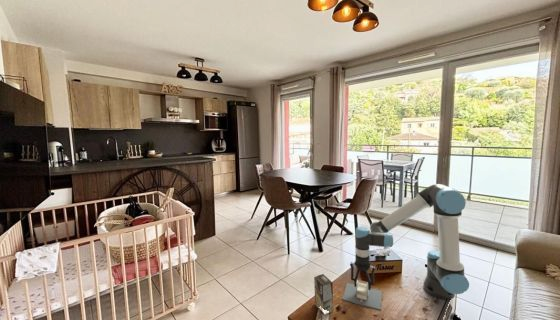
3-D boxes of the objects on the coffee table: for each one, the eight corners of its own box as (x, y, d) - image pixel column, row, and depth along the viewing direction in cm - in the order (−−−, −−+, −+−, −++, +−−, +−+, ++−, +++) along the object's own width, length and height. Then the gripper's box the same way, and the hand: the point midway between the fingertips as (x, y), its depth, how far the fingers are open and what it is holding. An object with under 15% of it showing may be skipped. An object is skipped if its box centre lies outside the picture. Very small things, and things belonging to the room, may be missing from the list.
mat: (381, 292, 135) (381, 291, 135) (380, 310, 121) (380, 309, 120) (347, 283, 144) (347, 282, 144) (342, 299, 129) (342, 298, 129)
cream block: (366, 300, 126) (366, 292, 126) (356, 297, 129) (356, 290, 128) (367, 289, 135) (368, 282, 135) (359, 287, 138) (359, 280, 137)
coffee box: (333, 311, 121) (333, 282, 120) (323, 315, 118) (323, 286, 117) (323, 300, 129) (323, 273, 128) (314, 304, 127) (313, 276, 125)
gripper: (379, 254, 129) (379, 293, 131) (347, 248, 137) (347, 285, 139) (379, 260, 123) (379, 301, 125) (344, 254, 131) (345, 293, 133)
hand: (362, 293), depth 132 cm, fingers closed on cream block, 5 cm apart
